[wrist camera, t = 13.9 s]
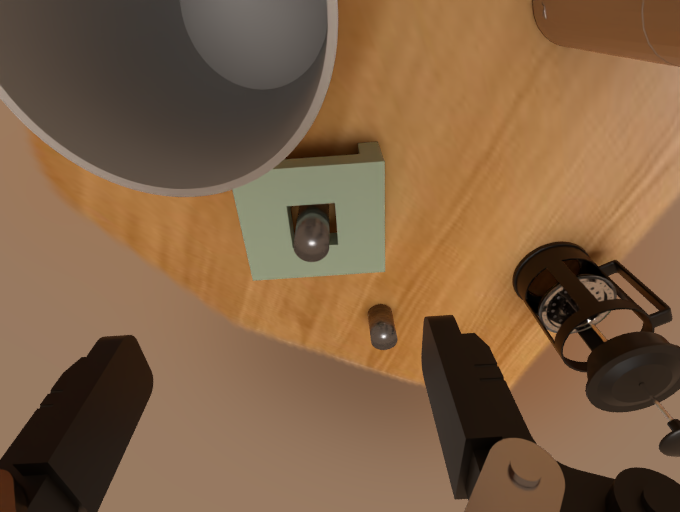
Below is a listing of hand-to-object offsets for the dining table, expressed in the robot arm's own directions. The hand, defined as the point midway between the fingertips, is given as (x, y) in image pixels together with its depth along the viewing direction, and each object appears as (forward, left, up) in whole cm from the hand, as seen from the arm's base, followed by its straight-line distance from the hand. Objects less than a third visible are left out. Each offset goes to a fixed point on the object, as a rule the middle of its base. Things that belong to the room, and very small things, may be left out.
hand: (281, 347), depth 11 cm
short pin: (-6, +27, -32) cm, 42 cm away
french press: (-28, +22, -32) cm, 48 cm away
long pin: (+1, +10, -32) cm, 34 cm away
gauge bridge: (+1, +10, -32) cm, 34 cm away
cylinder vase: (+4, -8, -32) cm, 34 cm away
